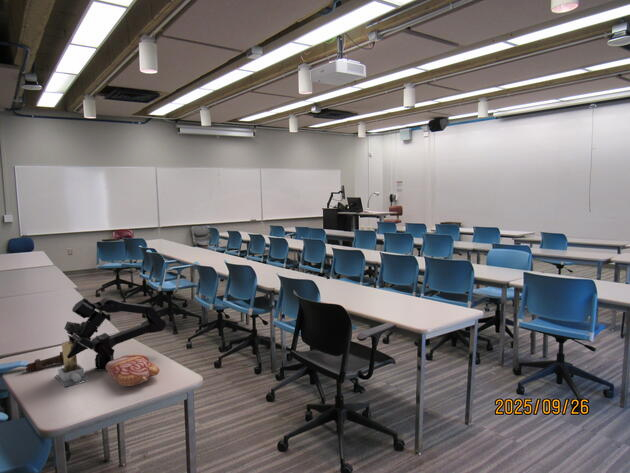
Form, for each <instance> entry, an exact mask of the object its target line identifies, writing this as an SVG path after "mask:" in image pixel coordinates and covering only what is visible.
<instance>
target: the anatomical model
mask: <svg viewBox="0 0 630 473" xmlns="http://www.w3.org/2000/svg"><path fill="white" fill-rule="evenodd" d="M105 371H107V373H108V375H109V376H110V378H112V379H113V380H114V381H116V383H117V384H119V385H121V386H124V387H133V386H136V385H139V384H142V383H144V382H147V380H149V379H150V378H152V377H154V376H157V375H158V374H159V373H160V368H159V366H158V365H157V364H156V363H153V362H151V361H149V358H148V357H147V356H146V355H144V354H140V353H134V354H133V353H132V354H125V355H123V356H120V357H118V358H115V359H114V360H111V361H110V362H108V363H107V364H106V370H105Z"/></svg>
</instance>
